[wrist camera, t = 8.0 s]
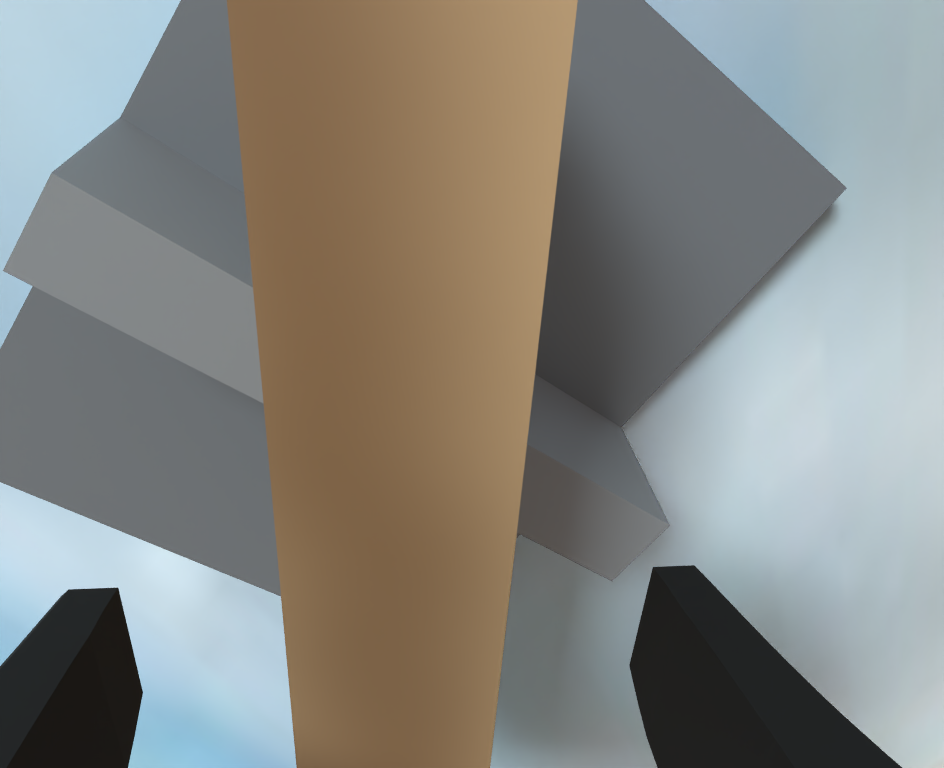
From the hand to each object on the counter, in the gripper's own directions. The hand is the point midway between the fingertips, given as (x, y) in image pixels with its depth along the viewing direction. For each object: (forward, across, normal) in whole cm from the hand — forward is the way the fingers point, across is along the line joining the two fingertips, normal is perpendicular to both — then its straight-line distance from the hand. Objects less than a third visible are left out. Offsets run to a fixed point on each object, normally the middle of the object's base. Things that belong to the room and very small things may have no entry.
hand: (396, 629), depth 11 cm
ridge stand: (+10, 0, 0) cm, 10 cm away
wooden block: (+5, 0, 0) cm, 5 cm away
